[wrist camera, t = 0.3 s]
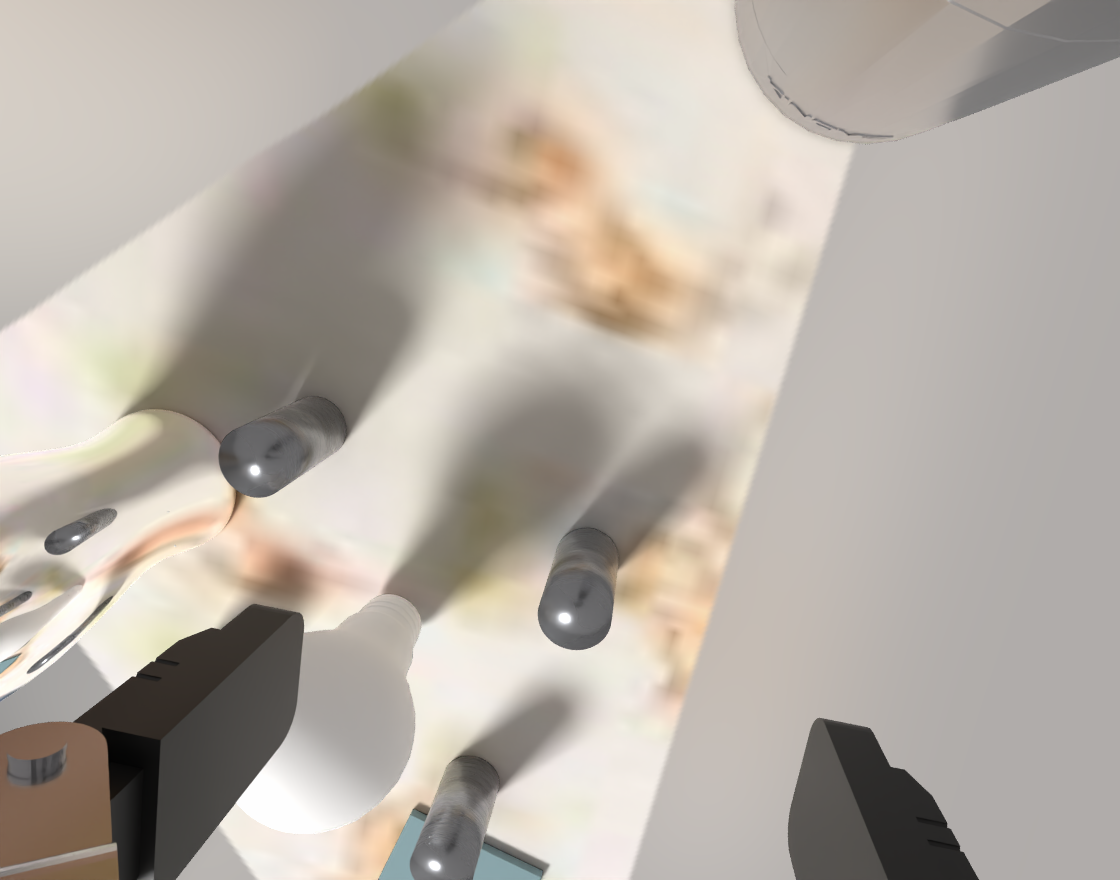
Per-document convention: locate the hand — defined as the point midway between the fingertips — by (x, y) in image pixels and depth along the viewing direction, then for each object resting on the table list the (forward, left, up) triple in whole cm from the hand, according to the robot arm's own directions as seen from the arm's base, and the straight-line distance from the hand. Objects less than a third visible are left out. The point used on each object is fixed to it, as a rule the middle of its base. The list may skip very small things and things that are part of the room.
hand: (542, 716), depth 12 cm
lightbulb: (+11, -5, -19) cm, 22 cm away
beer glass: (+10, -16, -19) cm, 26 cm away
